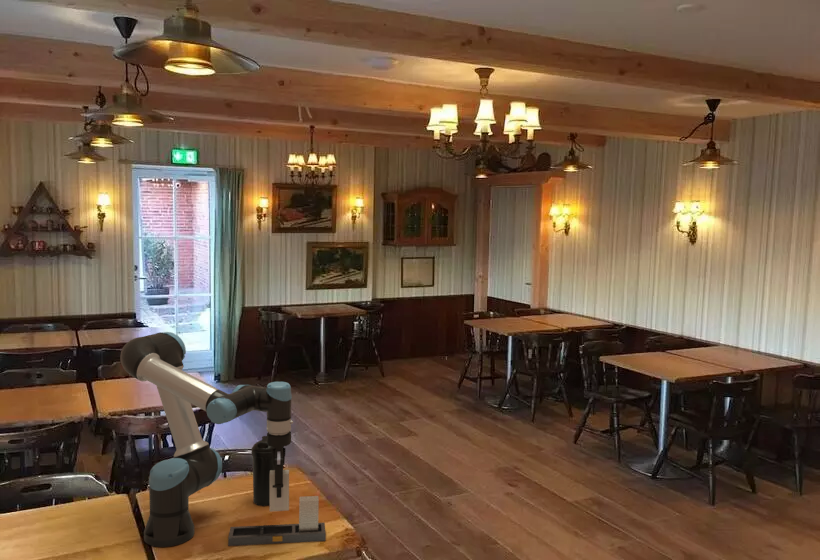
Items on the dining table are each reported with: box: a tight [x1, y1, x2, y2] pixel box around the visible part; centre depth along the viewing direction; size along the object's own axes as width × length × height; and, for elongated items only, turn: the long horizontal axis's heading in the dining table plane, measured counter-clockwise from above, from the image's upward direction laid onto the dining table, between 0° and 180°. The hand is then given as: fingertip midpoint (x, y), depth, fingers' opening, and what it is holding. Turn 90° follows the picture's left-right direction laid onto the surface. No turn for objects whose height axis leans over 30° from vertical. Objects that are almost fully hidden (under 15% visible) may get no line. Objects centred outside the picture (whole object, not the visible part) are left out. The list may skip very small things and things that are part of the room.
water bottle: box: [251, 435, 275, 507], centre depth 239 cm, size 10×10×23 cm
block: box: [269, 469, 290, 512], centre depth 212 cm, size 6×4×12 cm, turn 100°
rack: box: [227, 495, 327, 547], centre depth 213 cm, size 30×8×13 cm, turn 100°
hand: (279, 503), depth 212 cm, fingers closed on block, 3 cm apart
